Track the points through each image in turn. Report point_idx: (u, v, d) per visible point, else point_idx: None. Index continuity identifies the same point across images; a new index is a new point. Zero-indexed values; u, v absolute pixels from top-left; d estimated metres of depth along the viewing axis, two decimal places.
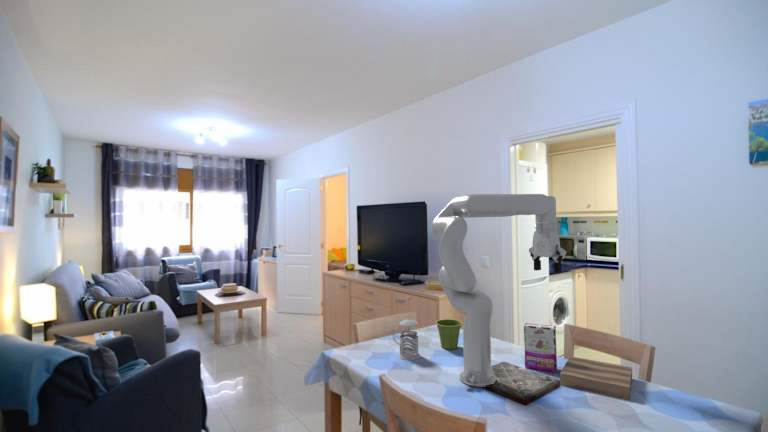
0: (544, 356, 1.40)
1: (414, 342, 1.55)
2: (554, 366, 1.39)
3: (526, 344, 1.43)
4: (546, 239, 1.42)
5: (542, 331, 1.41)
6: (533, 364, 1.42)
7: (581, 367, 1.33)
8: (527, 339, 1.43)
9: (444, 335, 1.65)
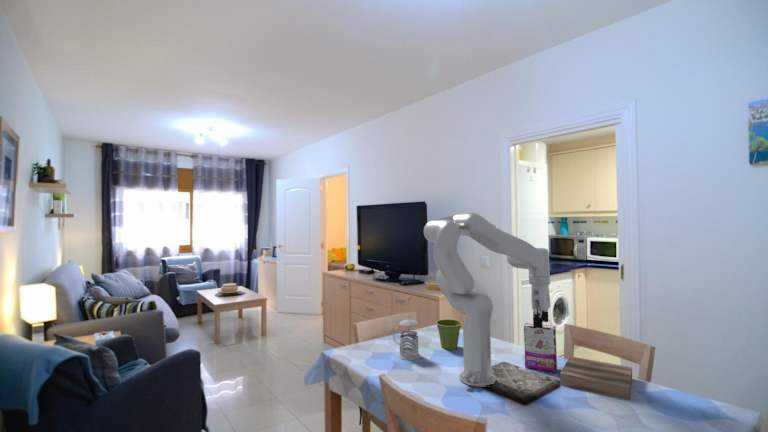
0: (544, 356, 1.40)
1: (414, 342, 1.55)
2: (554, 366, 1.39)
3: (526, 344, 1.43)
4: (548, 291, 1.44)
5: (542, 331, 1.41)
6: (533, 364, 1.42)
7: (581, 367, 1.33)
8: (527, 339, 1.43)
9: (444, 335, 1.65)
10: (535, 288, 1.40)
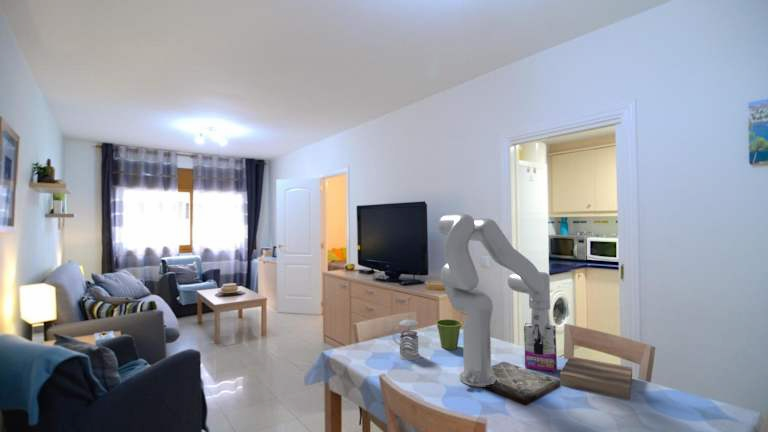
0: (544, 355, 1.40)
1: (414, 342, 1.55)
2: (554, 366, 1.39)
3: (526, 344, 1.43)
4: (548, 315, 1.44)
5: None
6: (533, 364, 1.42)
7: (581, 367, 1.33)
8: (527, 339, 1.43)
9: (444, 335, 1.65)
10: (535, 313, 1.40)
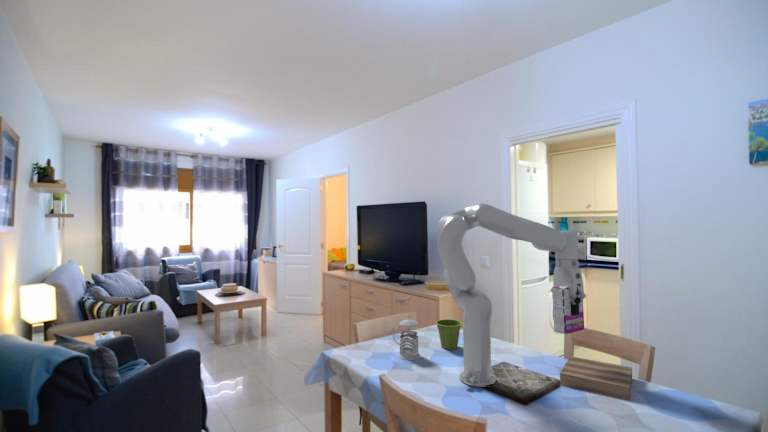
0: (577, 315, 1.35)
1: (414, 342, 1.55)
2: (583, 323, 1.37)
3: (565, 308, 1.33)
4: None
5: None
6: (570, 327, 1.33)
7: (581, 367, 1.33)
8: (565, 303, 1.33)
9: (444, 335, 1.65)
10: (576, 272, 1.33)
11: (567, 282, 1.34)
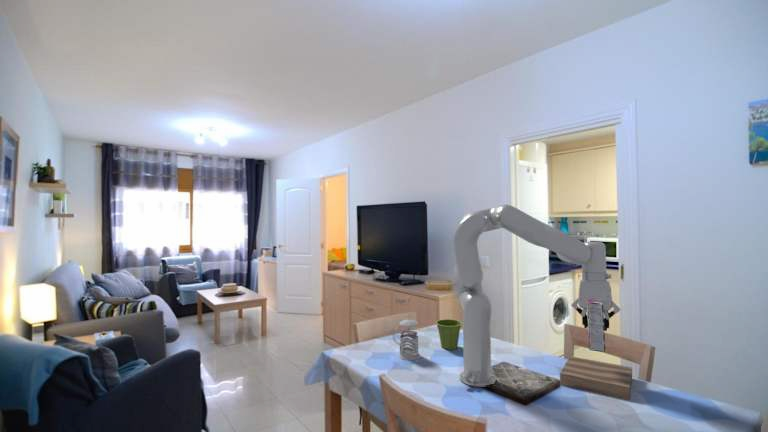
0: None
1: (414, 342, 1.55)
2: None
3: None
4: None
5: None
6: None
7: (581, 367, 1.33)
8: (603, 318, 1.26)
9: (444, 335, 1.65)
10: (609, 285, 1.28)
11: (601, 296, 1.28)
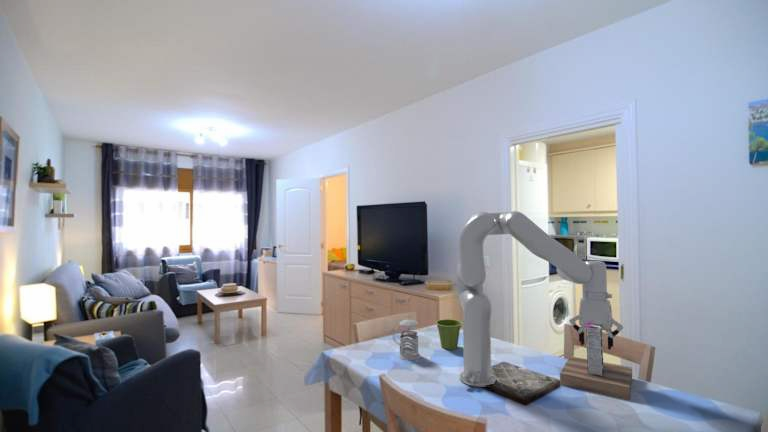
0: None
1: (414, 342, 1.55)
2: None
3: (602, 348, 1.25)
4: None
5: None
6: None
7: (581, 367, 1.33)
8: None
9: (444, 335, 1.65)
10: (609, 304, 1.28)
11: (602, 316, 1.28)
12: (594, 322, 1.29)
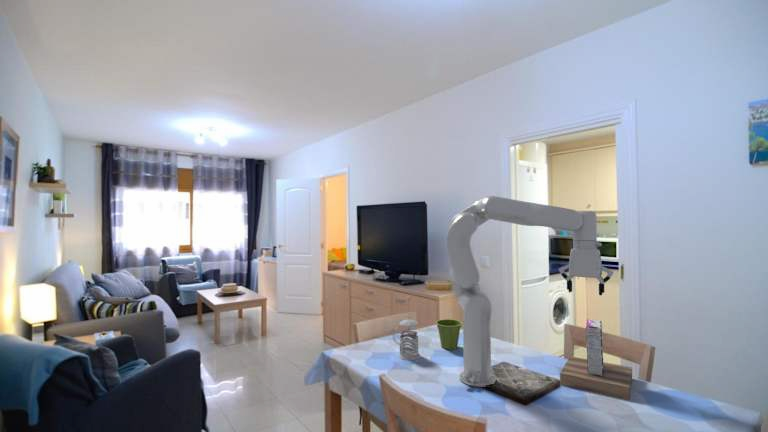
0: None
1: (414, 342, 1.55)
2: None
3: (602, 348, 1.25)
4: None
5: None
6: None
7: (581, 367, 1.33)
8: (602, 343, 1.26)
9: (444, 335, 1.65)
10: (599, 253, 1.30)
11: (591, 264, 1.30)
12: (584, 270, 1.31)
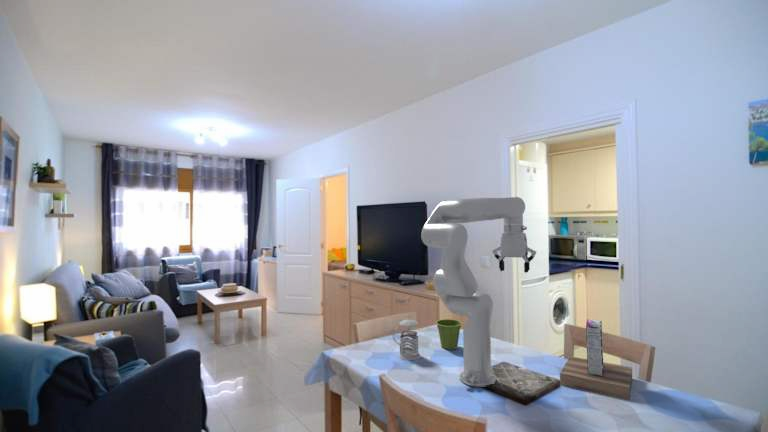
0: None
1: (414, 342, 1.55)
2: None
3: (602, 348, 1.25)
4: None
5: None
6: None
7: (581, 367, 1.33)
8: (602, 343, 1.26)
9: (444, 335, 1.65)
10: (524, 235, 1.49)
11: (517, 245, 1.48)
12: (512, 251, 1.50)
